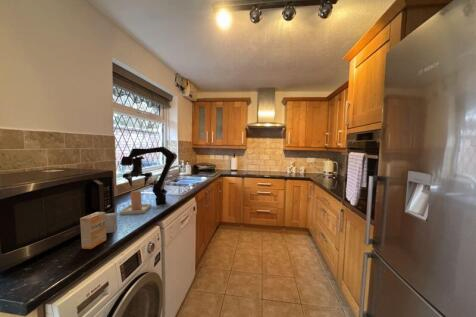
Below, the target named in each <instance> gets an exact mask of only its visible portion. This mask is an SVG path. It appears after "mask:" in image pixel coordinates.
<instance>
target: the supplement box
mask: <svg viewBox="0 0 476 317" xmlns="http://www.w3.org/2000/svg"><path fill="white" fill-rule="evenodd" d="M105 214H106V212H105V211H96V212H93V213H90V214H88V215H86V216H83V217H80V218H79V224H80V239H81V240H80V241H81V242H80V243H81V249H83V250H85V249H86V250H92V249H94V248H95V247H97V246H98V245H101V244H102V243H104V242H106V241H107V233H106V220H105Z"/></svg>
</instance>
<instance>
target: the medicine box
mask: <svg viewBox="0 0 476 317" xmlns="http://www.w3.org/2000/svg"><path fill="white" fill-rule="evenodd" d="M105 220H106V234H111V233H115V232H117V230H118V222H117V213H116V212H111V213H105Z"/></svg>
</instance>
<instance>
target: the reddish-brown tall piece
mask: <svg viewBox="0 0 476 317" xmlns="http://www.w3.org/2000/svg"><path fill="white" fill-rule="evenodd" d="M142 204H143V203H142V191H141V190H133V191H130V205H131V208H132V211H134V210H141V209H142Z"/></svg>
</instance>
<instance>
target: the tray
mask: <svg viewBox="0 0 476 317" xmlns="http://www.w3.org/2000/svg"><path fill="white" fill-rule="evenodd" d="M151 207H152V203H142V209H141V210H134V211H132V208H131V204H128V205H127V206H125V207H124V208H123V209H121V210H120V211H119V216H120V215H121V216H123V215H139V214H146V213H147V212H148V211H149V209H151Z"/></svg>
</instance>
